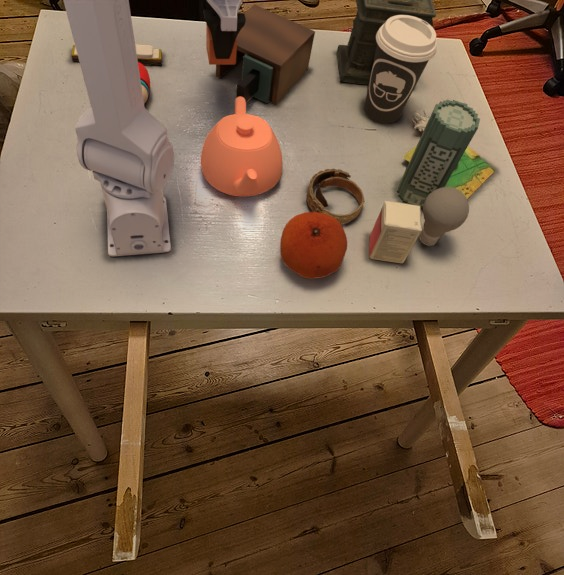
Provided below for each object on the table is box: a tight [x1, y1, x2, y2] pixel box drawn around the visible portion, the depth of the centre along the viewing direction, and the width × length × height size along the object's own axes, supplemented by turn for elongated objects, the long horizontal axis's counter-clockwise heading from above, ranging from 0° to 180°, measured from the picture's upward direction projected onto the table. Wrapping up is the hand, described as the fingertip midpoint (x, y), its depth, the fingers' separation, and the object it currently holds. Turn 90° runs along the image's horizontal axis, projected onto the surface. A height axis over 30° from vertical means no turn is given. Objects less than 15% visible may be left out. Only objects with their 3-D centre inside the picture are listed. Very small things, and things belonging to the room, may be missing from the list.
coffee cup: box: [363, 15, 438, 125], centre depth 84 cm, size 10×10×15 cm
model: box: [336, 0, 437, 86], centre depth 89 cm, size 14×9×15 cm, turn 93°
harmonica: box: [70, 43, 163, 66], centre depth 87 cm, size 15×3×2 cm, turn 96°
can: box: [397, 99, 481, 209], centre depth 74 cm, size 6×6×15 cm
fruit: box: [279, 211, 348, 280], centre depth 68 cm, size 9×9×8 cm
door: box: [235, 54, 273, 104], centre depth 83 cm, size 6×5×7 cm
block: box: [205, 23, 237, 66], centre depth 77 cm, size 4×4×4 cm
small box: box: [368, 200, 423, 264], centre depth 70 cm, size 5×4×8 cm
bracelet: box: [306, 168, 365, 225], centre depth 76 cm, size 9×9×3 cm
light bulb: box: [419, 187, 470, 247], centre depth 71 cm, size 6×6×10 cm
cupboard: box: [215, 4, 316, 106], centre depth 88 cm, size 12×12×8 cm
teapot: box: [200, 96, 284, 198], centre depth 74 cm, size 12×18×10 cm
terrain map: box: [402, 144, 496, 200], centre depth 84 cm, size 12×12×1 cm
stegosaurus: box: [411, 109, 430, 132], centre depth 88 cm, size 2×7×5 cm
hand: (220, 48), depth 77 cm, fingers closed on block, 4 cm apart
